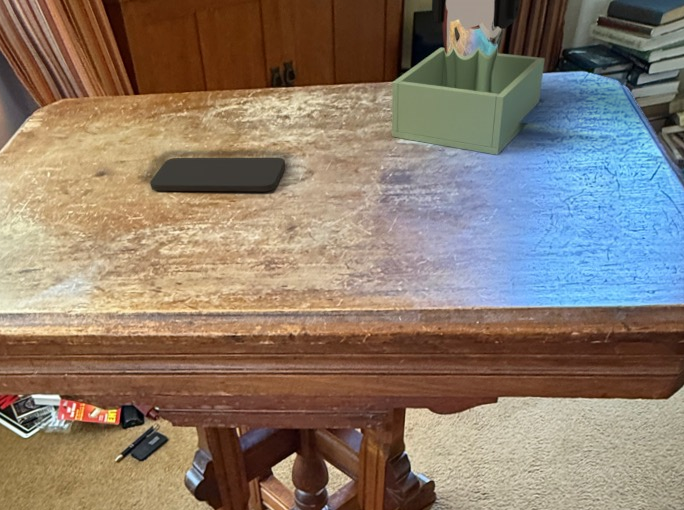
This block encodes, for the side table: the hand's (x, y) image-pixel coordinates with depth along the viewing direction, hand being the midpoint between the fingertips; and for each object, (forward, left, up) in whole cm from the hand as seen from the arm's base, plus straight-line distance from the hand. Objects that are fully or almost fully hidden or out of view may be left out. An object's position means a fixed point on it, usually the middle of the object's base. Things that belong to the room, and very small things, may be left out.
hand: (473, 21), depth 82 cm
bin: (0, 0, -12) cm, 12 cm away
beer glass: (0, 0, -10) cm, 10 cm away
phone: (+20, +25, -12) cm, 34 cm away
